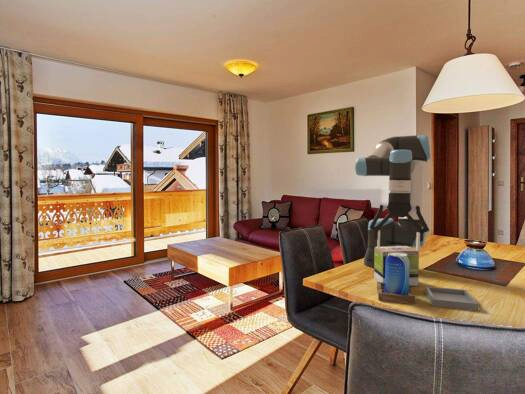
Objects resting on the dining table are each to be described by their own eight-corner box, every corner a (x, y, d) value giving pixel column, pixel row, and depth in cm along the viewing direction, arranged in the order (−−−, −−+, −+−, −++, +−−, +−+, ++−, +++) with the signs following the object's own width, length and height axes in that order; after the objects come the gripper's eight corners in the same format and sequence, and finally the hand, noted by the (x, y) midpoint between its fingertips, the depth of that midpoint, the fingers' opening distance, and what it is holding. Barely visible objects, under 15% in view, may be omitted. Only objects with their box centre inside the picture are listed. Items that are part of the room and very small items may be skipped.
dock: (376, 288, 134) (377, 281, 134) (409, 291, 130) (410, 284, 130) (378, 300, 121) (378, 293, 121) (415, 304, 118) (415, 297, 117)
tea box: (407, 278, 146) (408, 245, 145) (418, 286, 136) (420, 250, 135) (373, 279, 145) (374, 245, 144) (382, 287, 135) (383, 251, 134)
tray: (425, 292, 129) (425, 286, 129) (466, 296, 125) (466, 289, 125) (432, 306, 116) (432, 299, 116) (478, 310, 112) (478, 303, 112)
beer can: (380, 294, 126) (381, 253, 125) (392, 290, 131) (393, 250, 130) (400, 301, 120) (401, 258, 119) (413, 296, 125) (414, 254, 124)
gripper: (364, 191, 123) (362, 248, 124) (439, 193, 116) (437, 253, 117) (364, 191, 130) (362, 244, 131) (434, 192, 123) (432, 249, 124)
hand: (397, 249), depth 124 cm, fingers open, 13 cm apart
